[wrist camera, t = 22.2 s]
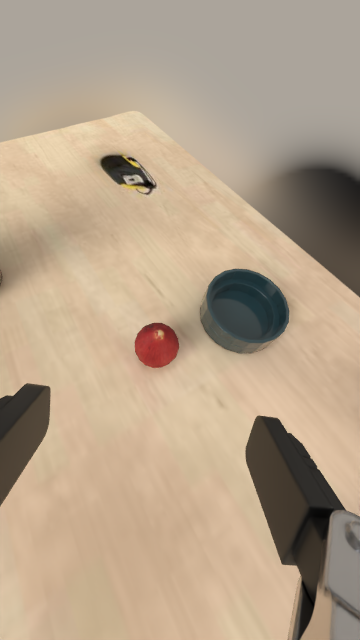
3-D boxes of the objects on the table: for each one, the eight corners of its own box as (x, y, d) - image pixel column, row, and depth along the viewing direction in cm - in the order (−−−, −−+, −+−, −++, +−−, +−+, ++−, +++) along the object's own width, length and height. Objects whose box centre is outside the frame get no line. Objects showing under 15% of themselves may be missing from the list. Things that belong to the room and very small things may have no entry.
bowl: (183, 307, 41) (189, 292, 37) (237, 273, 46) (246, 257, 42) (238, 370, 37) (250, 360, 33) (289, 325, 43) (305, 313, 39)
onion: (128, 344, 36) (126, 319, 29) (163, 330, 38) (170, 303, 31) (144, 380, 34) (147, 363, 27) (181, 363, 36) (192, 343, 29)
